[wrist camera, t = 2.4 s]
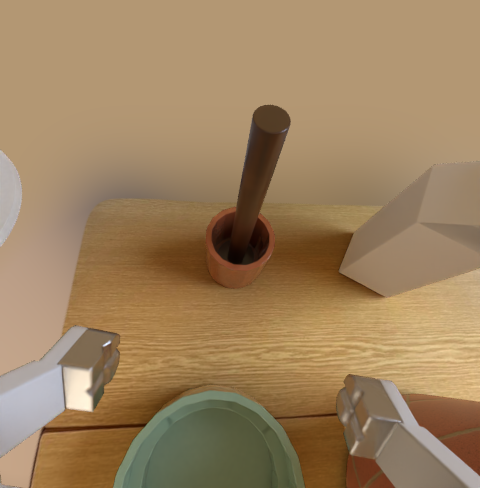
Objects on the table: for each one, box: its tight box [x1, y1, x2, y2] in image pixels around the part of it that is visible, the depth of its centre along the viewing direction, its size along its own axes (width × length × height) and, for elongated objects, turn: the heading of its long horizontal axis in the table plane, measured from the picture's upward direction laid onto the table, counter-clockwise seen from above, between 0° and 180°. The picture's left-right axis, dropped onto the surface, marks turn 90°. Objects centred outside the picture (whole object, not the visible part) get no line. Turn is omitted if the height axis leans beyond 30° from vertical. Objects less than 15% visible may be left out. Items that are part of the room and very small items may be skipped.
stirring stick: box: [218, 105, 291, 265], centre depth 24 cm, size 5×5×22 cm
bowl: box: [113, 385, 305, 488], centre depth 24 cm, size 15×15×6 cm
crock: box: [206, 207, 275, 289], centre depth 31 cm, size 7×7×8 cm
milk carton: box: [339, 161, 480, 298], centre depth 28 cm, size 7×7×19 cm
